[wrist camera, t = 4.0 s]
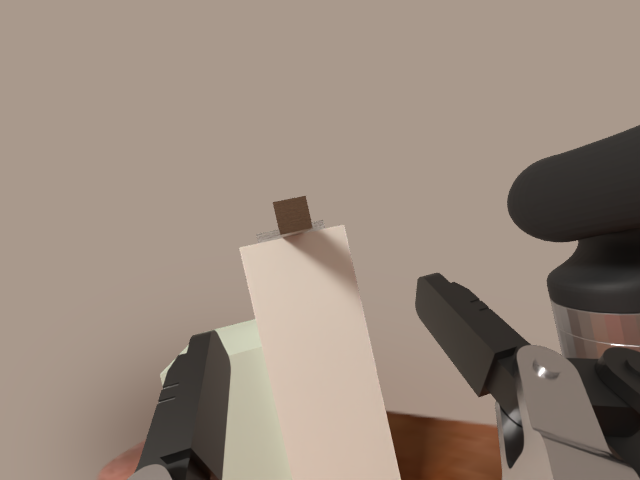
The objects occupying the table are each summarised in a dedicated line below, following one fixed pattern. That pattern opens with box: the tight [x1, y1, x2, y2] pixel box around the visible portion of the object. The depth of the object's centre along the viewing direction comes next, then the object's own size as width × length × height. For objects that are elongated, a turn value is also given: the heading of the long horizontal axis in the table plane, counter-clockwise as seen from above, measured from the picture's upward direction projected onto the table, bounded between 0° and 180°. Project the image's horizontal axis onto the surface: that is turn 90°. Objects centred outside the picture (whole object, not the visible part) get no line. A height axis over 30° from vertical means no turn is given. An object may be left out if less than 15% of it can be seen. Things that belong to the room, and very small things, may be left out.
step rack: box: [160, 225, 401, 480], centre depth 30 cm, size 20×13×31 cm, turn 99°
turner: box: [257, 196, 325, 243], centre depth 25 cm, size 7×20×2 cm, turn 9°
